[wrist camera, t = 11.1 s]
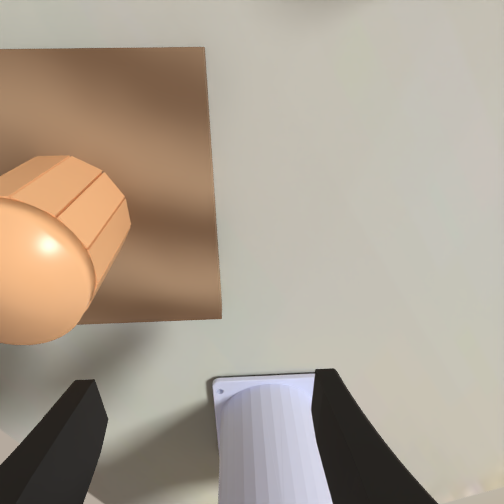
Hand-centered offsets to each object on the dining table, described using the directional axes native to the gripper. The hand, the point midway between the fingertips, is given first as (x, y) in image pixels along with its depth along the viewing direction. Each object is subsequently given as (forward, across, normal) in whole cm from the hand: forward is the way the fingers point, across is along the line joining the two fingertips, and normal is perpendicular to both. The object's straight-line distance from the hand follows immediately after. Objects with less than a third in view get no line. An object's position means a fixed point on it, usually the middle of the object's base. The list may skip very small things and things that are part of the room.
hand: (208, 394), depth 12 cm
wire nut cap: (+8, +7, -3) cm, 11 cm away
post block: (+9, +7, -3) cm, 12 cm away
